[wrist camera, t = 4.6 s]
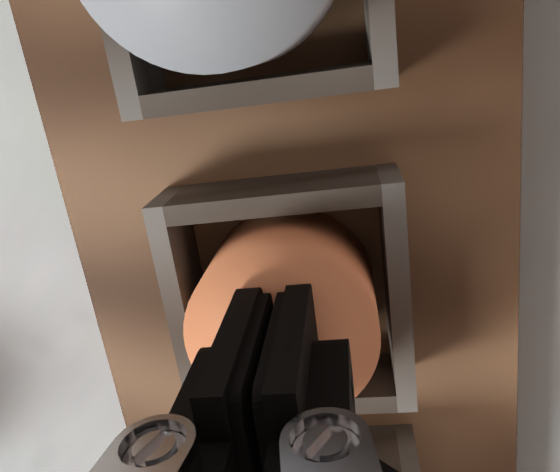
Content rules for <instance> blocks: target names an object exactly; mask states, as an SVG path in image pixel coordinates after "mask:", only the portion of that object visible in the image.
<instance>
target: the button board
mask: <svg viewBox="0 0 560 472" xmlns="http://www.w3.org/2000/svg"><path fill="white" fill-rule="evenodd" d="M9 3H10V6H11V10H12V14H13V17H14V21H15V24H16V28H17V32H18V35H19V39H20V43H21V46H22V50H23V53H24V57H25V61H26V64H27V68H28V72H29V75H30V79H31V82H32V86H33V90H34V93H35V97H36V101H37V104H38V108H39V111H40V115H41V119H42V122H43V126H44V130H45V133H46V137H47V140H48V144H49V148H50V151H51V155H52V159H53V162H54V166H55V170H56V173H57V177H58V180H59V184H60V188H61V191H62V195H63V199H64V202H65V206H66V209H67V213H68V217H69V220H70V224H71V228H72V231H73V235H74V238H75V242H76V246H77V249H78V253H79V257H80V260H81V264H82V267H83V271H84V275H85V278H86V282H87V286H88V289H89V293H90V296H91V300H92V304H93V307H94V311H95V315H96V318H97V322H98V326H99V329H100V333H101V336H102V340H103V344H104V347H105V351H106V355H107V358H108V362H109V365H110V369H111V373H112V376H113V380H114V384H115V387H116V391H117V394H118V398H119V402H120V405H121V409H122V413H123V416H124V420H125V423H126V427H129V426H130V425H132V424H133V423H135V422H137V421H139V420H142V419H144V418H146V417H150V416H154V415H158V414H169V412H170V410H171V408H172V406H173V404H174V402H175V399H176V397H177V395H178V393H179V391H180V389H181V386H182V384H183V382H184V380H185V378H186V376H187V374H188V371H189V369H190V367H191V363H190V360H189V358H188V355H187V352H186V348H185V343H184V336H183V323H184V317H185V312H186V308H187V305H188V302H189V300H190V298H191V296H192V294H193V292H194V290H195V288H196V287H197V285H198V283H199V281H200V280H201V278H202V276H203V275H204V273H205V271H206V269H207V268H208V266H209V264H210V263H211V261H212V259H213V257H214V256H215V254H216V252H217V251H218V249H219V247H220V246H221V244H222V242H223V241H224V239H225V238H226V236H227V235H228V234H229V233H230V232H231V231H232V229H233V228H234V227H236V226H237V225H238V224H239V223H240V222H242V221H243V220H246V219H256V218H267V217H277V216H288V215H298V214H309V213H319V212H322V213H325V214H327V215H329V216H331V217H333V218H335V219H336V220H338V221H339V222H340V223H342V224H343V225H345V226H346V227H347V228H348V229H349V230H350V231H351V232H352V233H353V234H354V235H355V236H356V237H357V239H358V240H359V241H360V243H361V244H362V246H363V247H364V249H365V251H366V253H367V256H368V258H369V261H370V264H371V268H372V274H373V281H374V288H375V296H376V303H377V310H378V317H379V324H380V332H381V349H380V356H379V360H378V363H377V366H376V369H375V371H374V373H373V375H372V377H371V379H370V381H369V382H368V384H367V385H366V386H365V388H364V389H363V390H362V391H361V392H360V393H359V395H358V396H357V397H355V413H356V414H357V415H358V416H360V417H361V418H362V419H363V420H364V421H365V422H366V424H367V425H368V427H369V429H370V432H371V435H372V438H373V442H374V445H375V448H376V452H377V455H378V458H379V459H380V460H382V461H383V462H385V463H386V464H388V465H389V466H391V467H392V468H394V469H395V470H397V471H398V472H516V439H517V378H518V317H519V256H520V195H521V134H522V73H523V12H524V0H334V2H333V4H332V6H331V8H330V10H329V11H328V13H327V14H326V16H325V17H324V19H323V21H322V22H321V23H320V25H319V26H318V27H317V28H316V29H315V31H314V32H313V33H312V34H311V35H310V36H309V37H308V38H307V39H306V40H304V41H303V42H302V43H301V44H300V45H298V46H297V47H296V48H294V49H293V50H291V51H290V52H288V53H286V54H284V55H282V56H280V57H279V58H276V59H274V60H271V61H268V62H265V63H262V64H258V65H255V66H252V67H248V68H245V69H241V70H237V71H232V72H227V73H223V74H210V75H198V74H186V73H181V72H176V71H172V70H167V69H165V68H162V67H159V66H156V65H154V64H151V63H149V62H147V61H145V60H143V59H141V58H139V57H137V56H135V55H134V54H132V53H131V52H129V51H128V50H126V49H125V48H124V47H122V46H121V45H119V44H118V43H117V42H116V41H115V40H114V39H112V38H111V37H110V36H109V35H108V34H107V33H106V32H105V31H104V30H103V29H102V28H101V27H100V26H99V25H98V24H97V23H96V21H95V20H94V19H93V18H92V17H91V16H90V14H89V13H88V11H87V10H86V9H85V7H84V6H83V4H82V3H81V2H80V0H9Z"/></svg>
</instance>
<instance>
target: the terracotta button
mask: <svg viewBox="0 0 560 472" xmlns="http://www.w3.org/2000/svg"><path fill="white" fill-rule="evenodd" d="M309 283H310V284H311V286H312V293H313V301H314V309H315V317H316V325H317V333H318V340H334V339H349V344H350V353H351V362H352V372H353V383H354V396H355V397H357V396H358V395H359V393H360V392H361V391H362V390H363V389H364V388H365V386H366V385H367V384H368V382H369V381H370V379H371V377H372V375H373V373H374V371H375V369H376V366H377V363H378V360H379V356H380V349H381V332H380V324H379V317H378V310H377V303H376V296H375V288H374V281H373V274H372V268H371V264H370V261H369V258H368V256H367V253H366V251H365V249H364V247H363V246H362V244H361V243H360V241H359V240H358V239H357V237H356V236H355V235H354V234H353V233H352V232H351V231H350V230H349V229H348V228H347V227H346V226H345V225H343V224H342V223H340V222H339V221H338V220H336V219H335V218H333V217H331V216H329V215H327V214H325V213H322V212H319V213H309V214H298V215H288V216H277V217H267V218H256V219H246V220H243V221H242V222H240V223H239V224H238V225H237V226H236V227H234V228H233V229H232V231H231V232H230V233H229V234H228V235H227V236H226V238H225V239H224V241H223V242H222V244H221V246H220V247H219V249H218V251H217V252H216V254H215V256H214V257H213V259H212V261H211V263H210V264H209V266H208V268H207V269H206V271H205V273H204V275H203V276H202V278H201V280H200V281H199V283H198V285H197V287H196V288H195V290H194V292H193V294H192V296H191V298H190V300H189V302H188V305H187V308H186V312H185V317H184V323H183V336H184V343H185V348H186V352H187V355H188V358H189V360H190V363H191V365H192V363H193V361H194V359H195V356H196V354H197V352H198V351H199V349H200V348H202V347H211V346H212V343H213V341H214V339H215V336H216V334H217V332H218V329H219V327H220V325H221V322H222V320H223V318H224V315H225V313H226V311H227V308H228V306H229V304H230V301H231V299H232V297H233V294H234V292H235V290H236V289H243V288H256V287H261V289H262V291H263V293H271V296H272V301H273V306H274V302H275V298H276V294H277V292H284V291H285V287H286V285H296V284H309Z"/></svg>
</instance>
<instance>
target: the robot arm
mask: <svg viewBox="0 0 560 472" xmlns="http://www.w3.org/2000/svg"><path fill="white" fill-rule="evenodd" d="M89 472H398V471H397V470H395V469H394V468H392V467H391V466H389V465H388V464H386V463H385V462H383V461H382V460H380V459H379V458H378V455H377V452H376V448H375V445H374V442H373V438H372V435H371V432H370V429H369V427H368V425H367V424H366V422H365V421H364V420H363V419H362V418H361V417H360V416H358V415H357V414H356V413H355V396H354V383H353V372H352V362H351V353H350V344H349V339H334V340H318V333H317V325H316V317H315V309H314V301H313V293H312V286H311V284H310V283H309V284H296V285H286V287H285V291H284V292H277V294H276V298H275V302H274V306H273V301H272V296H271V293H263V291H262V289H261V287H256V288H243V289H236V290H235V292H234V294H233V297H232V299H231V301H230V304H229V306H228V308H227V311H226V313H225V315H224V318H223V320H222V322H221V325H220V327H219V329H218V332H217V334H216V336H215V339H214V341H213V343H212V346H211V347H202V348H200V349H199V351H198V352H197V354H196V356H195V359H194V361H193V363H192V365H191V367H190V369H189V371H188V374H187V376H186V378H185V380H184V382H183V384H182V386H181V389H180V391H179V393H178V395H177V397H176V399H175V402H174V404H173V406H172V408H171V410H170V412H169V414H158V415H154V416H150V417H146V418H144V419H142V420H139V421H137V422H135V423H133V424H132V425H130V426H129V427H127V428H126V429H124V430H123V431H122V432H121V433H120V434H119V435H118V436H117V437H116V438H115V439H114V440H113V442H112V443H111V444H110V446H109V447H108V448H107V449H106V451H105V452H104V453H103V455H102V456H101V457H100V458H99V460H98V461H97V462H96V464H95V465H94V466H93V468H92V469H91V470H90V471H89Z"/></svg>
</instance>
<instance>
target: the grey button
mask: <svg viewBox="0 0 560 472" xmlns="http://www.w3.org/2000/svg"><path fill="white" fill-rule="evenodd" d="M80 2H81V3H82V4H83V6H84V7H85V9H86V10H87V11H88V13H89V14H90V16H91V17H92V18H93V19H94V20H95V21H96V23H97V24H98V25H99V26H100V27H101V28H102V29H103V30H104V31H105V32H106V33H107V34H108V35H109V36H110V37H111V38H112V39H114V40H115V41H116V42H117V43H118V44H119V45H121V46H122V47H124V48H125V49H126V50H128V51H129V52H131V53H132V54H134V55H135V56H137V57H139V58H141V59H143V60H145V61H147V62H149V63H151V64H154V65H156V66H159V67H162V68H165V69H167V70H172V71H176V72H181V73H186V74H198V75H210V74H223V73H227V72H232V71H237V70H241V69H245V68H248V67H252V66H255V65H258V64H262V63H265V62H268V61H271V60H274V59H276V58H279V57H280V56H282V55H284V54H286V53H288V52H290V51H291V50H293V49H294V48H296V47H297V46H298V45H300V44H301V43H302V42H303V41H304V40H306V39H307V38H308V37H309V36H310V35H311V34H312V33H313V32H314V31H315V29H316V28H317V27H318V26H319V25H320V23H321V22H322V21H323V19H324V17H325V16H326V14H327V13H328V11H329V10H330V8H331V6H332V4H333V2H334V0H80Z"/></svg>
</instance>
